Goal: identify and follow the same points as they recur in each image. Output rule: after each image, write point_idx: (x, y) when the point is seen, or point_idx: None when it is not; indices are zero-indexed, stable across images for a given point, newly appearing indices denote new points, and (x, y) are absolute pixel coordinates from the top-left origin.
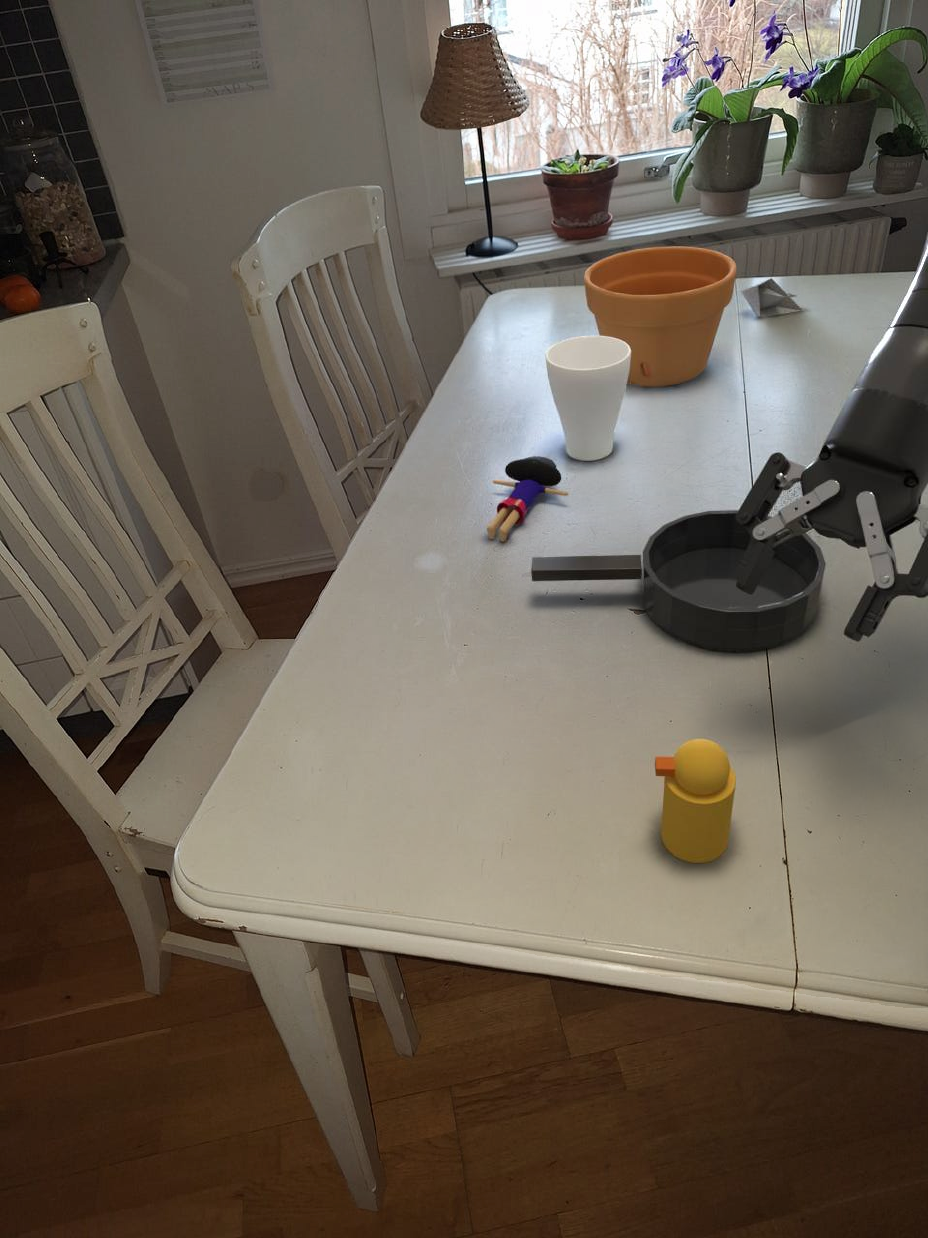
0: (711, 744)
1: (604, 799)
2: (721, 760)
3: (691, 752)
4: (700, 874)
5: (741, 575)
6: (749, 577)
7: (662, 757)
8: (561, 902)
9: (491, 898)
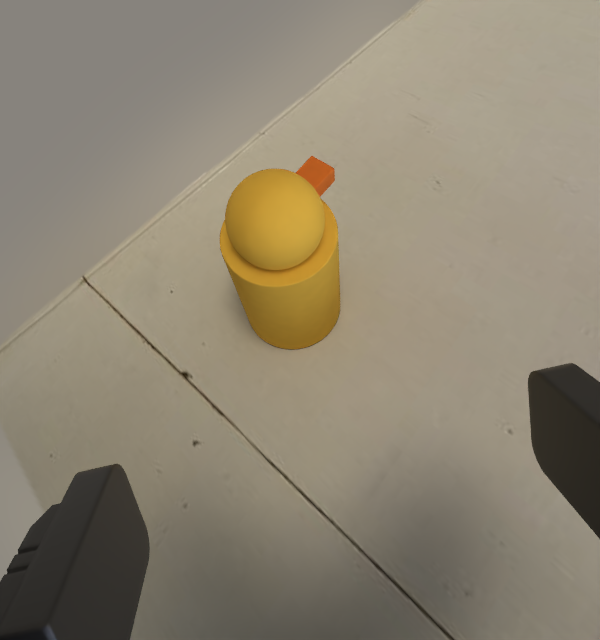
0: (268, 209)
1: (419, 250)
2: (236, 212)
3: (277, 175)
4: None
5: (586, 378)
6: (556, 392)
7: (325, 175)
8: (316, 136)
9: (366, 86)
